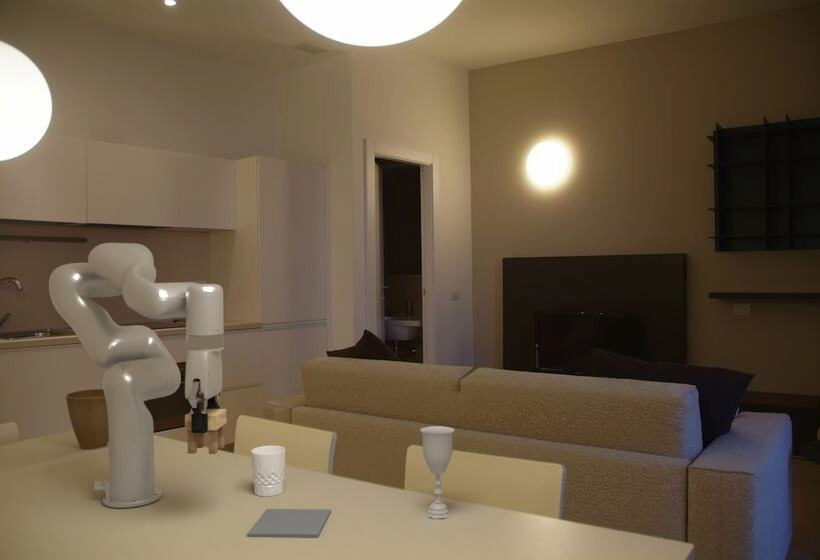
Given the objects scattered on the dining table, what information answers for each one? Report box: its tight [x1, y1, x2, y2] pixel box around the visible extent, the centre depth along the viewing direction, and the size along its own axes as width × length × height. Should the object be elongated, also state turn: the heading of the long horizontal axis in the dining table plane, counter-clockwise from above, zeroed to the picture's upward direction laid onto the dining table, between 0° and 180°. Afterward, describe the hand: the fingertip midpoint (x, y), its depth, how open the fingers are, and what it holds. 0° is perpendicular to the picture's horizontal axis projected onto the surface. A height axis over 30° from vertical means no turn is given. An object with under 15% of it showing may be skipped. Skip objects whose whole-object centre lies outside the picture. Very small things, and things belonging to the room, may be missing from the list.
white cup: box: [250, 445, 286, 497], centre depth 164 cm, size 8×8×10 cm
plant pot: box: [65, 388, 109, 450], centre depth 209 cm, size 15×15×16 cm
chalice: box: [420, 425, 455, 518], centre depth 147 cm, size 7×7×18 cm
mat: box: [246, 508, 332, 538], centre depth 143 cm, size 14×14×1 cm
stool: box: [184, 408, 228, 455], centre depth 146 cm, size 6×6×8 cm
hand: (206, 427), depth 146 cm, fingers closed on stool, 6 cm apart
